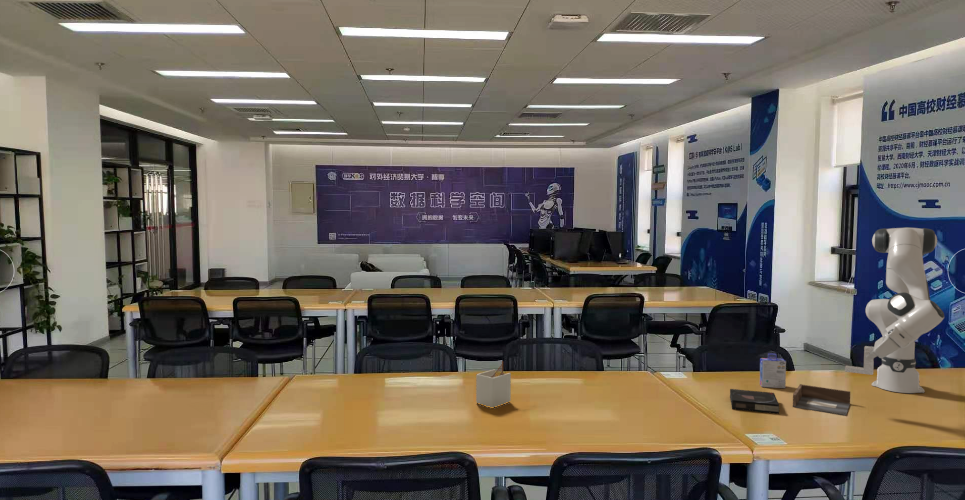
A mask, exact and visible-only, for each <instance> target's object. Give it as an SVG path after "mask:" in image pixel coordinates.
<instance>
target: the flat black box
mask: <svg viewBox="0 0 965 500" xmlns="http://www.w3.org/2000/svg"><path fill="white" fill-rule="evenodd" d="M729 400H730V406H731V410H735V409H736V411H747V412H755V413H756V412H757V413H763V414H764V413H766V414H776V415H780V404H779V401H778V399H777V396H776V395H775V393H774V392H770V391H769V392H768V391H761V390H760V391H759V390H758V391H756V390H746V389H739V388H738V389H737V388H730V389H729Z"/></svg>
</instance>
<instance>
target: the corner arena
mask: <svg viewBox="0 0 965 500" xmlns="http://www.w3.org/2000/svg"><path fill="white" fill-rule="evenodd" d="M850 406H851V391H849V390H842V389H835V388H829V387H821V386H814V385H809V384H807V385H806V384H802V383H799V385H798V387H797V388H796V390H795V391H794V392H793V394H792V408H796V409H803V410H807V411H808V410H809V411H813V412H814V411H815V412H822V413H827V414H832V415H833V414H834V415H837V416H838V415H839V416H845V417H846V416H847V415H848V414H847V413H848V412H849V409H850Z"/></svg>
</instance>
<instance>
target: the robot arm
mask: <svg viewBox="0 0 965 500" xmlns="http://www.w3.org/2000/svg"><path fill="white" fill-rule="evenodd" d="M871 238H872V239H871V242H872V246H873V249H874V250H875V251H876V252H878V253H879V254H880V253H882V254H885V253H888V254H887V260H886V268H885V270H886V272H885V284H886V287H887V288H888V289H889V290H891V291H893V292H894V293H896V294H894V295H893V296H891V297H890V298H889V299H888V298H878V299H871V300H869V302H867V304H866V307H865V315H866V317H867V318H868V320H869V321H871V322H872V323H874V325H875V326H876V327H877V329H878V330H879V332H880V333H881V335H882V336H881V337H880V338H879V339H877V340H876V341H875V342H874V346H873V347H874V350H873V351H872V352H871V353H870V354H868V355H867V356H866V357H865V359H866V360H867V361H870V360H871V359H873V358H874V359H875V358H877V357H878V358H879V359H881V365H879V367H877V369H876V371H877V372H876V374H877V375H876V380H874V381H873V382H872V383H871V386H873V387H877V388H879V389H882V390H885V391H889V392H893V393H894V392H895V393H900V394H901V393H902V394H916V393H921V394H924V393H925V389H924V388H923V387H922V386H921V385H920V372H919V371H918V370H917V369H916V365H917V362H916V358H915V349H916V348H915V347H916V342H915V341H917V340H918V339H919V338H920V337H921V336H922V335H924V334H926V333H929V332H930V331H932V330H933V329H934V328H935V327H937V326H938V325H940V324H941V323H942V322H943V320H944V319H945V313H944V311H943V310H942V308H941V307H940V306H939V305H938V304H937V303H936V302H935V301H933V300H931V296H930V289H929V284H928V279H927V275H926V271H925V265H924V258H923V257H924V256H925V255H926V254H930V253H932V252H933V251H934V250H935V248H936V247H937V245H938V237H937V235H936V232H935V231H934V229H930V228H925V227H923V228H918V227H896V228H895V227H892V228H879V229H877V230H875V232H874V234H873V236H872V237H871Z"/></svg>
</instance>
